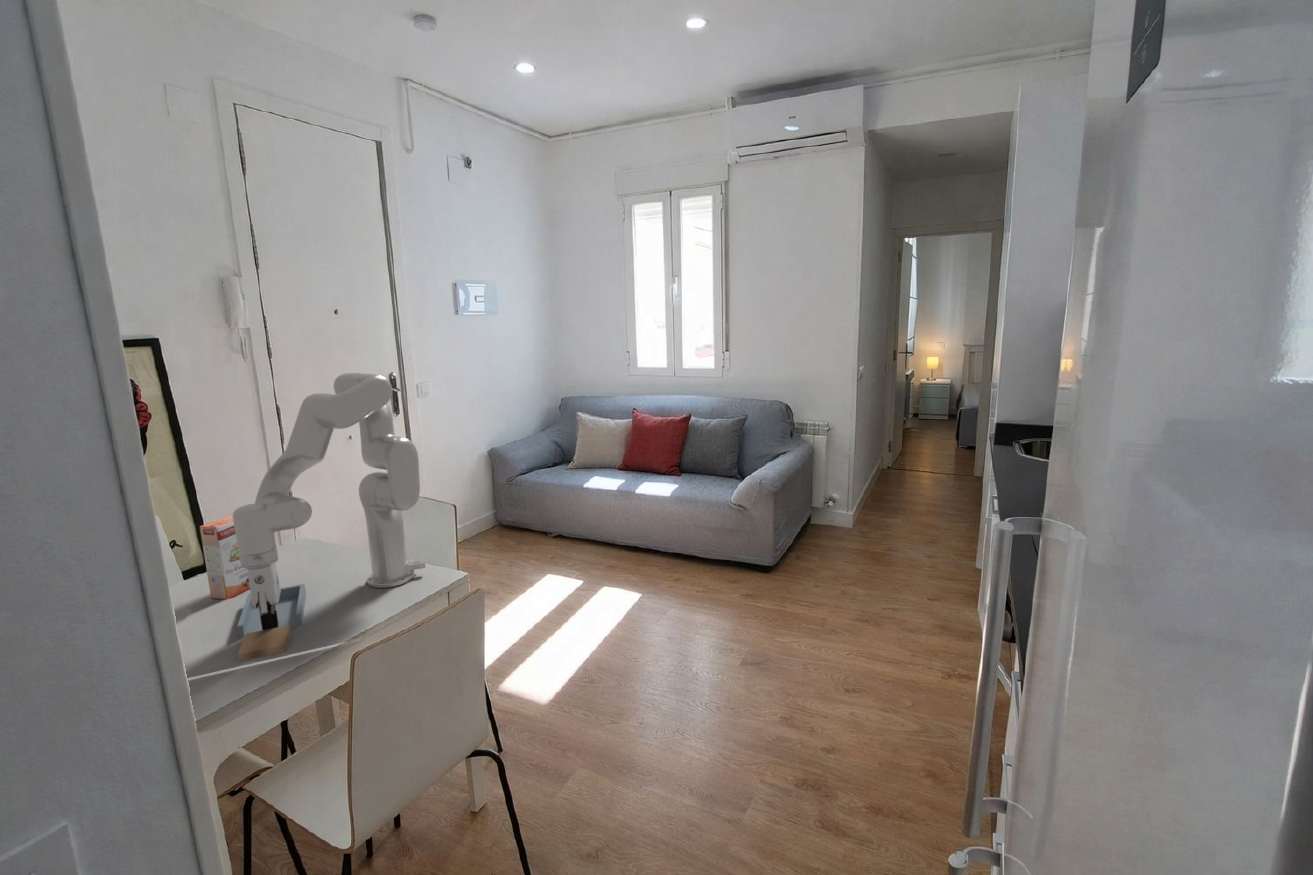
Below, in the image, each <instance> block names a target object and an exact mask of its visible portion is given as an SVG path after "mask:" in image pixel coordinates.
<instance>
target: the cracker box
mask: <svg viewBox="0 0 1313 875" xmlns="http://www.w3.org/2000/svg"><path fill="white" fill-rule="evenodd" d="M199 531H200V537H201V542H202V543H201V544H202V549H203V556H204V561H205V567H206V568H205V569H206V574H207V581H208V585H209V587H208V588H209V592H210V597H211V599H214V600H215V599H216V600H229V599H232V598H235V597H236V596H237V595H240V594H241V593H244V592H245V591H247V590H250V585H249V578H248V571H247V569H245V568H242V567H241V563H240V557H239V551H238V545H237V539H236V533H235V527H234V521H233V513H232V514H230V515H228V516H224V517H222V518H219V519H216V520H214V521H211V522H208V523H206V524H202V525H200V526H199Z"/></svg>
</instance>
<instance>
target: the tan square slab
mask: <svg viewBox="0 0 1313 875" xmlns="http://www.w3.org/2000/svg"><path fill="white" fill-rule="evenodd" d="M291 628H292V627H290V625H288V626H282V627H277V628H272V629H267V630H261V631H256V632H251V633H246V635H245V637H243V639H242V642H241V644H240V647H239V648H238V650H237V651H238V652H237V653H236V657H237V661H238V662H240V661H245V660H249V659H255V658H259V657H264V656H267V655H268V656H269V655H274V654H278V653H282V652H286V649H287V646H288V643H289V638H290V635H291V631H292V629H291Z"/></svg>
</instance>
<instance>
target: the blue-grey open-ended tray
mask: <svg viewBox="0 0 1313 875" xmlns="http://www.w3.org/2000/svg"><path fill="white" fill-rule="evenodd" d="M306 591H307V590H306V585H305V583H302V584H301V583H300V584H295V585H290V586H284V587H281V593H280V598H279V602H278V604H277V605H275V610H276V611H277V617H278V627H282V626H288V625H290V628H294V627H298V626H303V624H304V623H303V622H304V615H305V607H306V606H305V605H306V597H307V592H306ZM236 628H237V631H238V637H239V638H238V639H241V638H244V637H245V635H246V633H251V632H256V631H261V630H262V625H261V619H260V611H259V605H258V608H257V609H256V608H254V607H253V603H252V597H251V593H248V594H247V595H246V599H245V602H244V605H243V608H242V611H241V613H240V617H239V619H238V622H237V627H236Z"/></svg>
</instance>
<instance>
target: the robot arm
mask: <svg viewBox="0 0 1313 875" xmlns="http://www.w3.org/2000/svg"><path fill="white" fill-rule="evenodd" d="M333 391H334V392H335V393H324V392H323V393H322V392H321V393H320V392H319V393H312V394H310V395H308V396H306V397H305V398H304V399H303V401H302V402H301V405H300V408H299V410H298V413H297V416H296V419H295V422H294V425H293V428H292V431H291V434H290V437H289V440H288V443H287V446H286V448H285V450H284V451H283V452H282V454H281V455H280V456H279V457H278V458H277V459H276V461H275V462H274V463H273V464H272V465H271V466H270V468H269V469H268V470H267V472H266V473H265V474H264V477H263V479H262V480H261V483H260V486H259V488H258V491H257V494H256V496H255V497H256V498H255V501H254V503H251V504H250V503H249V504H244V505H242V506H240V507H238V508H235V510H233V513H232V514H233V521H234V527H235V533H236V539H237V545H238V551H239V557H240V563H241V567H242V568H245V569H247V571H248V578H249V585H250V589H249V590H250V594H251V597H252V603H253V607H254V608H256V609H257V608H258V605H259V611H260V619H261V625H262V630H267V629H272V628H277V627H278V617H277V611H276V610H275V605H277V604H278V602H279V598H280V593H281V588H282V587H281V583H280V579H279V573H278V572H279V571H278V568H277V564H276V563H277V562H278V561H279V552H278V550H279V549H278V545H277V538H276V532H282V531H287V530H288V531H289V530H293V529H298V528H300V527H302V526H304V525H305V524H307V523H308V522H309V521H310V519H311V517H312V516H313V515H312V513H313V508H312V507H311V504H310V503H309V502H308V501H306V500H305V499H303V498H301V497H296V496H292V495H290V493H291V489H292V487H293V485H294V483H295V481H296V480H297V479H298V477H299V476H300V475H302V474H303V473H304V472H306V471H307V470H308V469H311V468H312V467H314V466H316V465H318V464H319V463H321V462H323V460H324V459H325V456H326V453H327V450H328V447H329V445H330V441H331V438H332V435H333V432H334V429H337V430H342V429H346V428H350V427H352V426H354V425H356V424H358V425H359V434H360V448H361V449H360V450H361V458H362V461H363V463H364V464H365V465H366V466H368V467H370V468H374V469H378V470H385V471H386V472H383V471H376V472H371V473H369V474H366V475H365V476H364V477H363V478H362V480H361V481H360V483H359V485H358V486H359V487H358V496H359V500H360V502H361V506H362V508H363V512H364V517H365V523H366V531H367V540H368V541H367V542H368V548H369V557H370V564H371V574H369V575H368V577H367V578H366V582H367V585H368V586H370V587H372V588H375V589H376V588H377V589H379V588H380V589H382V588H383V589H384V588H393V587H397V586H400V585H403V584H407V583H409V581H411V580H412V579H413V578H414V577H415V570H422V569H425V568H426V563H425V561H420V560H413V561H412V560H409V558H408V555H407V545H406V544H407V543H406V535H405V527H404V526H405V524H404V517H403V513H402V512H403V511H409V510H411V509H412V508H414V506H416V505H417V502H418V501H419V498H420V492H421V485H420V484H421V483H420V482H421V481H420V465H419V464H420V462H419V460H420V459H419V455H418V454H419V453H418V450H417V447H416V445H415V444H414V442H412V441H411V440H410V439H408V438H407V437H404V436H397V435H396V433H395V427H394V419H393V414H392V411H391V408H390V406H389V404H388V403H389V401H390V400H391V399H392V396H393V386H392V384H391V382H390V380H389V379H387V378H386V377H385V376H383V375H381V374H374V373H361V372H360V373H359V372H347V373H343V374H340V375H338V376H337V377H336V378H335V380H334V381H333Z"/></svg>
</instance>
